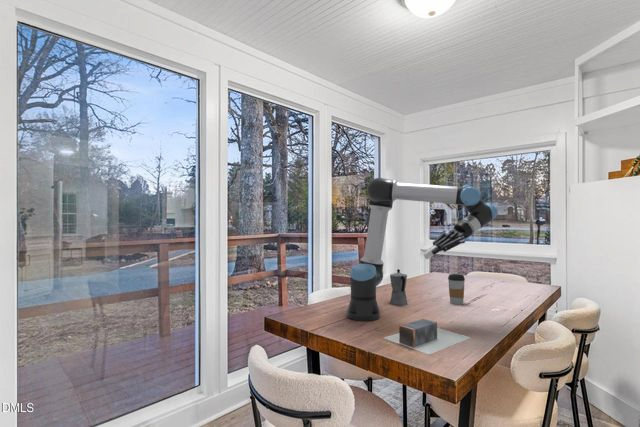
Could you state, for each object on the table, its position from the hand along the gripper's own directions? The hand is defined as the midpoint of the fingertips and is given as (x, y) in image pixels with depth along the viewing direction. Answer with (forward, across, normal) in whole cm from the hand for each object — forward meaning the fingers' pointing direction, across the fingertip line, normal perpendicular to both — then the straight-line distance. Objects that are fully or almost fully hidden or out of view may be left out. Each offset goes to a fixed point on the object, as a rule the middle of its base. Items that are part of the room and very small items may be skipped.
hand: (425, 256), depth 146 cm
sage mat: (+23, -21, -16) cm, 34 cm away
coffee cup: (-14, +18, -48) cm, 52 cm away
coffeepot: (+11, +28, -34) cm, 46 cm away
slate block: (+19, -20, -14) cm, 31 cm away
